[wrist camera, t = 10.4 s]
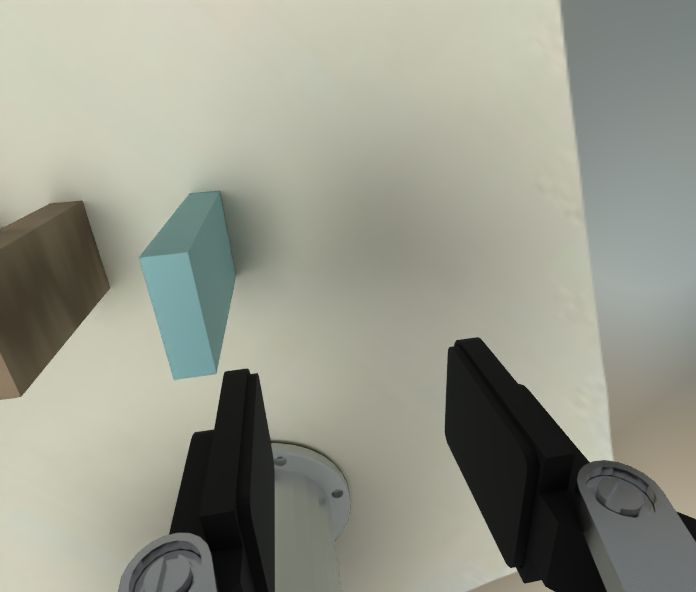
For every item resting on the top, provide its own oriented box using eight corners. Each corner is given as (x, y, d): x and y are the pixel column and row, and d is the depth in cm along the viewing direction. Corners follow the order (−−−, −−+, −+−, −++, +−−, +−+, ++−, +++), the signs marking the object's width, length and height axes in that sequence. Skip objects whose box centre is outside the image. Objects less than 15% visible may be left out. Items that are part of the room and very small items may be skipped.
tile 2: (109, 288, 25) (20, 397, 16) (80, 291, 25) (-26, 403, 16) (82, 200, 23) (-38, 271, 14) (49, 203, 23) (-93, 277, 14)
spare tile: (235, 276, 26) (216, 374, 17) (208, 279, 26) (174, 379, 17) (219, 190, 24) (187, 252, 15) (189, 194, 24) (138, 257, 15)
